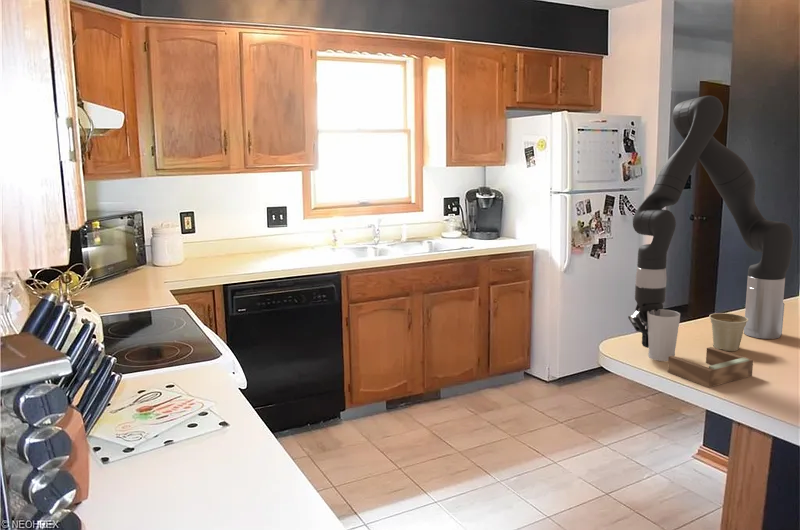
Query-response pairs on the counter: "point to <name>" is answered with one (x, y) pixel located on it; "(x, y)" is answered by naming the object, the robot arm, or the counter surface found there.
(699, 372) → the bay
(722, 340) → the flower pot
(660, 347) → the cup
